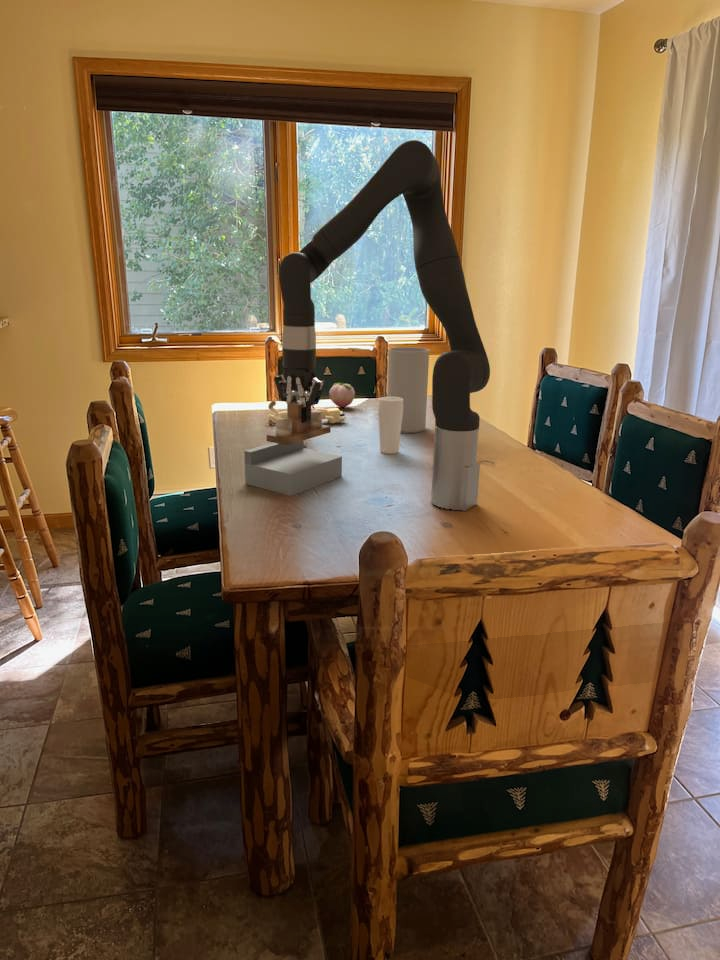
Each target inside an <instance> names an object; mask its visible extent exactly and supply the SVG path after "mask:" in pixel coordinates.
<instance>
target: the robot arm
mask: <svg viewBox="0 0 720 960" xmlns="http://www.w3.org/2000/svg"><path fill="white" fill-rule="evenodd" d="M441 178H442V177H441V171H440V165H439V163H438V160H437V158H436V156H435V155H434V153H433V152H432V150H431V149H430V147H429V146H428V145H427V144H426V143H424V142H422V141H420V140H417V139H416V140H415V139H412V140H407V141H404V142H402V143H401V144H399V145H398V146H397V147H396V148H395V149H394V150H393V151H392V152H391V154H390V155H388V157H387V158H386V159H385V161H384V162H383V164H382V165H381V166H380V167H379V169H377V171H376V172H375V173H374V174H373V175H372V177H371V178H370V179H369V180H368V181H367V182H366V184H364V186H363V187H362V188H361V189H360V190H359V191H358V192H357V193H356V195H354V196H353V197H352V198H351V200H349V201H348V203H346V204H345V205H344V206H343V207H342V208H341V209H340V210H339V211H338V212H337V213H335V214H334V215H333V216H332V217H331V218H330V219H329V220H328V221H326V222H325V223H324V224H323V225H322V226H321V227H320V228H318V229H317V230H316V232H315V233H313V235H312V239H311V240H310V241H309V242H308V243H307V244H306V245H304V246H303V247H302V248H301V249H300V250H299V251H298V252H296V251H295V252H290V253H288V254H286V255H285V256H284V257H283V258H282V259H281V261H280V264H279V267H278V268H279V269H278V280H279V288H280V295H281V299H282V304H283V306H282V307H283V308H282V312H283V313H282V323H283V324H282V325H283V326H282V336H281V338H282V340H281V342H282V343H281V345H282V347H281V349H282V350H281V351H282V354H281V356H282V361H281V362H282V367H284V370H283V371H282V374H280V375H276V376H274V377H273V380H274V384H275V386H276V389H277V392H278V395H279V398H280V400H281V402H285V403H286V404H288V403H292V402H297V401H298V398H299V399H300V398H301V404H302V407H301V421H302V423H308V422H309V421H310V419H311V408H312V405H313V406H315V405H318V404H319V402H320V399H321V398H322V397H321V396H322V394H323V392H324V390H325V386H326V381H325V380H319V379H318V378H317V376H316V373H315V367H316V365H317V349H316V348H317V334H316V324H315V323H316V315H315V314H316V312H315V311H316V310H315V303H314V301H313V300H312V295H311V294H312V292H311V291H312V290H311V287H312V286H311V283H313V282H315V280H317V279H318V278H319V277H320V276H321V275H322V274H323V273H324V272H325V271H326V270H327V269H328V268H329V267H330V265H331V264H332V263H333V262H335V260H337V259H338V258H339V257H341V256H342V255H343V254H345V252H347V251H348V250H349V249H350V248H352V247H353V246H354V245H355V244H356V243H357V242H358V241H359V240H360V239H361V238H362V237H363V235H365V233H366V232H367V230H368V229H369V228H370V226H371V225H372V224H373V222H374V221H375V220H376V218H378V217H377V216H379V214H380V213H382V211H383V210H384V209H385V208H386V206H388V205H389V204H390V203H391V202H393V201H394V200H395V199H397V198H398V197H400V196H401V195H402V196H403V199H404V202H405V205H406V207H407V211H408V214H409V216H410V221H411V225H412V232H413V233H412V237H413V238H412V240H413V241H412V242H413V243H412V245H413V260H414V267H415V271H416V275H417V279H418V284H419V288H420V291H421V294H422V296H423V298H424V300H425V302H426V303H427V305H428V306H429V307H430V310H432V312H433V313H434V315H435V316H436V318H437V319H438V320H439V322H440V323H441V325H442V327H443V329H444V331H445V333H446V337H447V339H448V344H449V347H450V350H449V351H448V350H447V351H445V352H443V353H441V354H440V355H439V356H438V357H437V359H436V361H435V363H434V365H433V369H432V382H431V383H432V385H431V389H432V391H431V393H432V394H431V401H432V402H431V407H432V413H433V416H434V419H435V421H434V426H435V427H434V439H433V440H434V441H433V457H432V458H433V459H432V474H431V475H432V476H431V492H430V493H431V494H430V495H431V496H430V497H431V498H430V503H431V502H432V503H433V504H434V505H436V506H438V507H437V508H439V507H441V508H440V509H443V508H445V509H444V510H449V509H452V510H451V511H465V512H466V511H468V510H469V509H470V508H472V507H474V506H476V505H478V496H479V483H480V470H481V463H480V462H479V461H478V458H477V457H478V445H479V430H480V415H479V413H478V412H476V411H473V410H472V408H471V394H472V393H477V392H479V391H481V390H483V389H485V387H486V386H487V385H488V382H489V379H490V376H491V367H490V360H489V357H488V355H487V350H486V349H485V346H484V344H483V341H482V337H481V336H480V335H481V334H480V331H479V329H478V326H477V323H476V319H475V316H474V312H473V307H472V304H471V299H470V296H469V292H468V288H467V284H466V279H465V274H464V271H463V266H462V262H461V257H460V254H459V250H458V247H457V243H456V239H455V237H454V236H455V235H454V233H453V231H452V228H451V225H450V222H449V219H448V217H447V213H446V209H445V208H446V207H445V202H444V194H443V188H442V180H441ZM432 503H431V504H432ZM433 504H432V505H433ZM434 505H433V506H434ZM436 506H435V507H436Z"/></svg>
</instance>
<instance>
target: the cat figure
mask: <svg viewBox="0 0 720 960" xmlns="http://www.w3.org/2000/svg"><path fill="white" fill-rule="evenodd" d="M276 402H277V401H276V400H271V402H269V404H268V409H269V410H270V411H271V412H273V413H274V415H272V414H268V425H269V426H273V423H276V419H278V418H287V410H285V411H279V410H277V409H276V408H275V407H274V406H276V405H277V403H276ZM311 410H318V411H322V420H327V422H328V423H329V424H336V423H342V422H343V423H344V422H346V421H345V420H347V418H348V417H347V416H345V415H346V414H345V413H344V411H343V410H340V409H339V407H329V408H322V407H320V408H319V407H318V408H315V405H312V406H311Z"/></svg>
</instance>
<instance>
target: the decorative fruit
mask: <svg viewBox="0 0 720 960" xmlns="http://www.w3.org/2000/svg"><path fill="white" fill-rule="evenodd" d="M343 382H344V381H343V380H341V382H335V383H333V384H332V387H331V388H330V389H329V391H328V393H329V394H328V395H329V398H330V400H331V402H332V403H334V405H336V406H337V407H338V408H340V407H344V408H345V407H348V406H349V405H351V404H352V403H353V401H354V398H355V395H356V394H355V393H356V392H355V391H356V390H355V389H354V387H353V386H352V385H351V384H350V383H343Z"/></svg>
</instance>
